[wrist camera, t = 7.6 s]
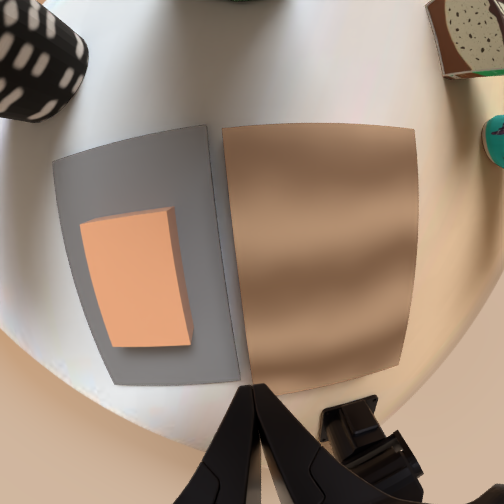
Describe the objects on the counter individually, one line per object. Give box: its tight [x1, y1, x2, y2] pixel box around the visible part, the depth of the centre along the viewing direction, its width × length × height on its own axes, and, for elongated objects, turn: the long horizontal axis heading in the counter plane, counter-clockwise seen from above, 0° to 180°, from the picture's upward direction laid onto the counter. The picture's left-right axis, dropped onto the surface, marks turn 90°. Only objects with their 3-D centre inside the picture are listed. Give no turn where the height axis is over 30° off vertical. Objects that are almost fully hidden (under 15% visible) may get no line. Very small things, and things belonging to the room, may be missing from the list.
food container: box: [425, 0, 504, 80], centre depth 10 cm, size 12×6×10 cm, turn 0°
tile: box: [80, 206, 194, 347], centre depth 17 cm, size 9×6×2 cm, turn 5°
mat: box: [52, 125, 241, 385], centre depth 19 cm, size 20×12×1 cm, turn 6°
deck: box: [222, 123, 419, 395], centre depth 18 cm, size 18×12×4 cm, turn 6°
